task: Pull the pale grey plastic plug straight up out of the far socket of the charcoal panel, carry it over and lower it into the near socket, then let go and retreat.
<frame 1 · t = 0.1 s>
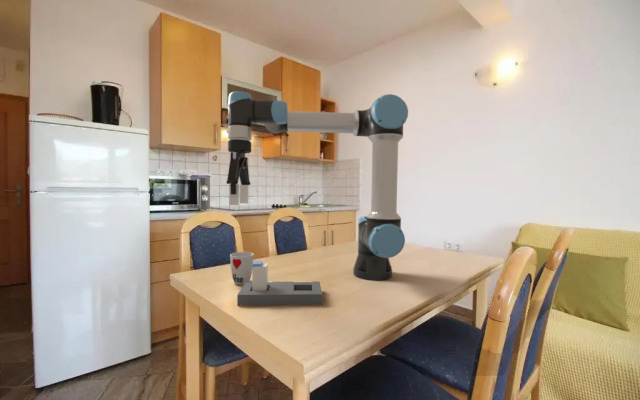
hand: (239, 204, 98), 28 cm above the table, fingers open, 13 cm apart
plug: (260, 297, 89), resting in panel
cup: (241, 282, 104), on the table
panel: (281, 297, 90), on the table
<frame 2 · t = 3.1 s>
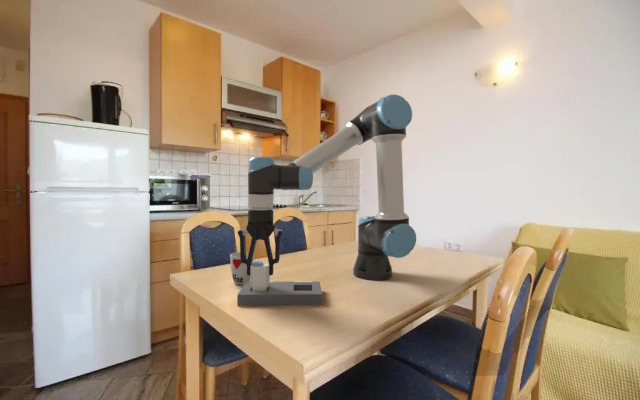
hand: (260, 285, 89), 4 cm above the table, fingers closed on plug, 4 cm apart
plug: (260, 297, 89), resting in panel, touching gripper
everything else where it was.
when the fingers open (5 cm above the table, at t = 8.0 s): plug drops 1 cm, resting in panel.
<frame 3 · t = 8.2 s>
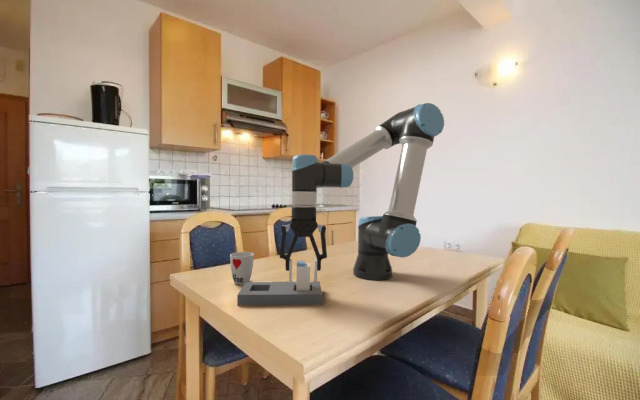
hand: (303, 280, 90), 5 cm above the table, fingers open, 7 cm apart
plug: (302, 297, 90), resting in panel
everything else where it was.
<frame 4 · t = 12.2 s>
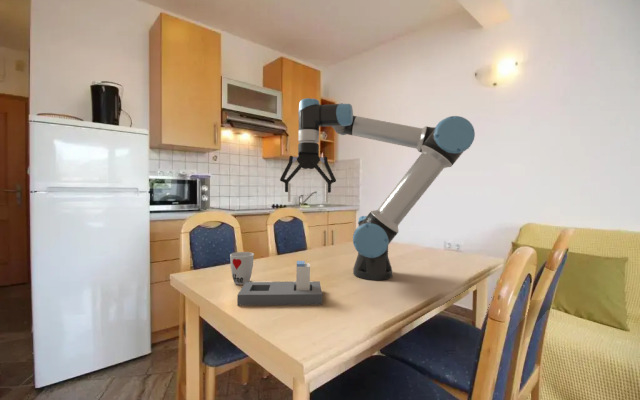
hand: (307, 201, 107), 29 cm above the table, fingers open, 13 cm apart
nothing on the table moved.
at the end: plug 0.0 cm from the target spot on the panel, point 0.0 cm above the panel's base; plug tilted 0°; the gripper is holding nothing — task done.
